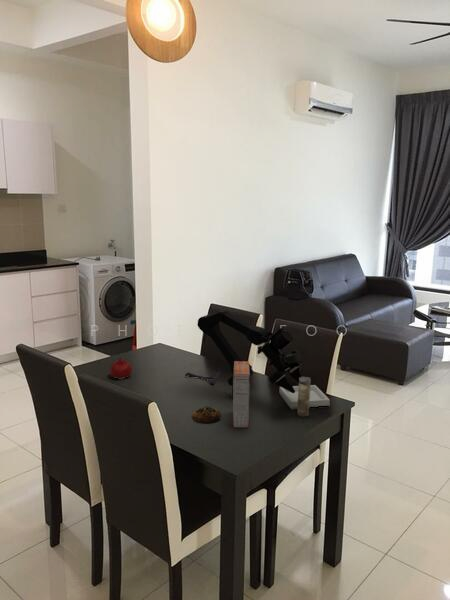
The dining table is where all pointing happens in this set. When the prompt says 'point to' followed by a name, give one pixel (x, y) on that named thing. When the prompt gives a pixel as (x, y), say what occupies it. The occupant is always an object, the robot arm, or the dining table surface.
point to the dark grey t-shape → (206, 377)
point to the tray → (315, 400)
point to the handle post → (303, 396)
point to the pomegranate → (120, 369)
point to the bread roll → (206, 415)
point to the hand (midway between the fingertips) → (299, 388)
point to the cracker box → (241, 394)
